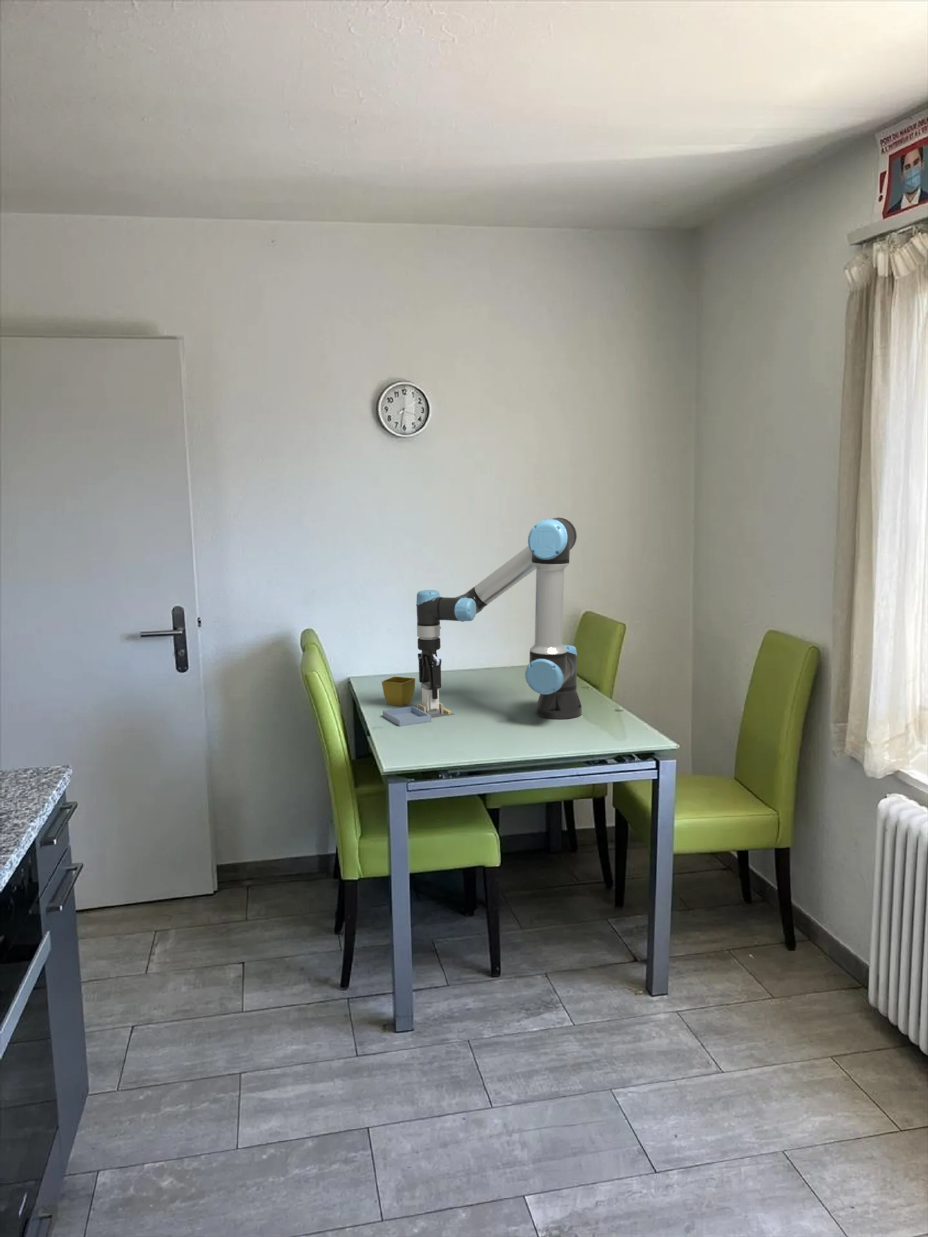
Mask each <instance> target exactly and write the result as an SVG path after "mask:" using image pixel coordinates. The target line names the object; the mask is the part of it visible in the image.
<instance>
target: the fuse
mask: <svg viewBox="0 0 928 1237" xmlns="http://www.w3.org/2000/svg"><path fill="white" fill-rule="evenodd" d="M420 688H421V704H422V705H424V706H426V713H427V714H429V715H432V714H439V713H440V709H439V702H440V692H439V691H440V688H439V689H438V708H434V709H430V696H429V688H431V687H430V682H424V683H420Z"/></svg>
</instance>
